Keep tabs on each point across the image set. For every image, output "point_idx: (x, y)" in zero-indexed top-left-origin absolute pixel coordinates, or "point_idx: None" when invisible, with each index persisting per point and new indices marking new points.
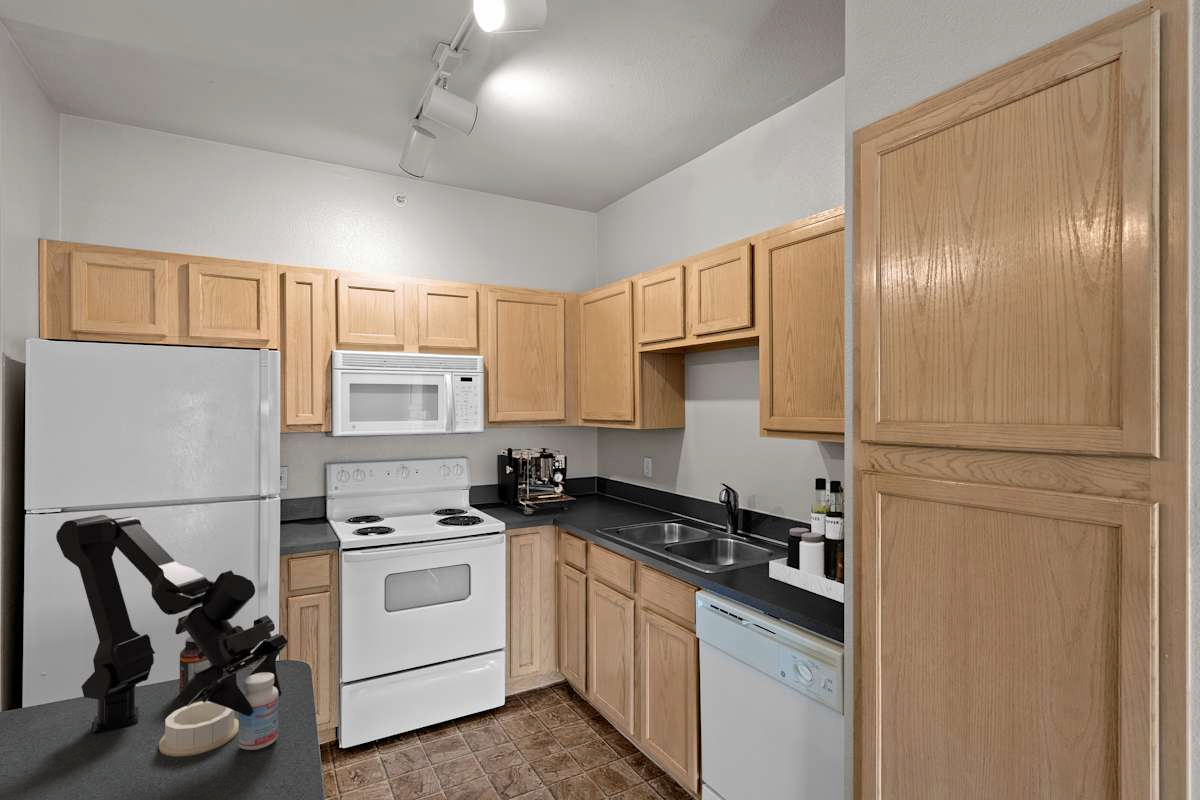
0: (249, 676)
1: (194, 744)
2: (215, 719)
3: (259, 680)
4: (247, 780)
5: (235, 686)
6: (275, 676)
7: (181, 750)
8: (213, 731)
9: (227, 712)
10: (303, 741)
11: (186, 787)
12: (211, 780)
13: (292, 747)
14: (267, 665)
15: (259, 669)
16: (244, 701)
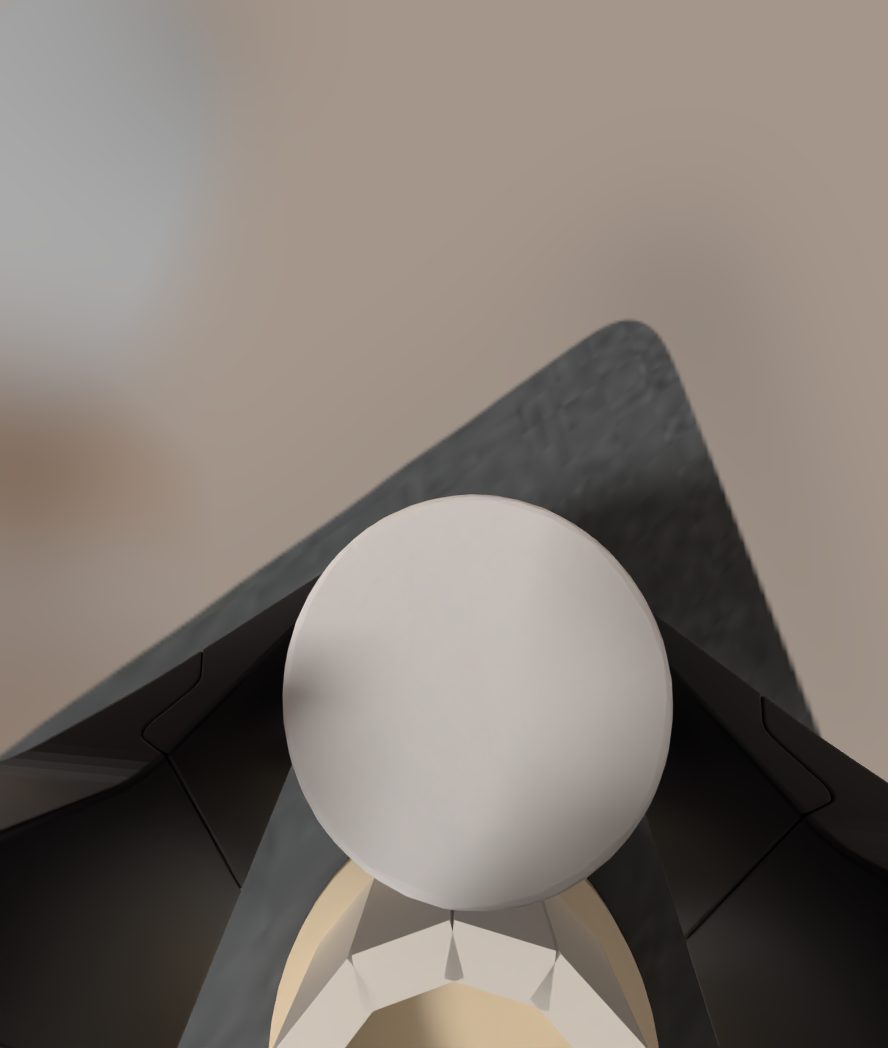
0: (464, 893)
1: (602, 950)
2: (518, 969)
3: (540, 616)
4: (674, 512)
5: (871, 831)
6: (225, 651)
7: (632, 999)
8: (538, 906)
9: (418, 954)
10: (413, 481)
11: (791, 713)
12: (720, 646)
13: (457, 495)
14: (107, 818)
15: (127, 968)
16: (683, 650)
